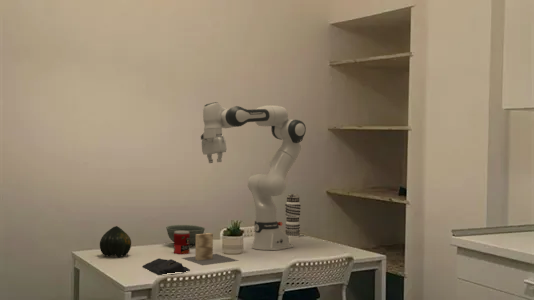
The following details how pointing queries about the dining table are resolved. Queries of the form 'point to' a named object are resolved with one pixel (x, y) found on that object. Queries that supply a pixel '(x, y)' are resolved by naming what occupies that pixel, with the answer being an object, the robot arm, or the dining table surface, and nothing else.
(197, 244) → the beech tile
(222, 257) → the rubber mat
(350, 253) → the dining table surface
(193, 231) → the bowl
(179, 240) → the canned food
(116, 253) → the squash
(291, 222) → the decorative candle
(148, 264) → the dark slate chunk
